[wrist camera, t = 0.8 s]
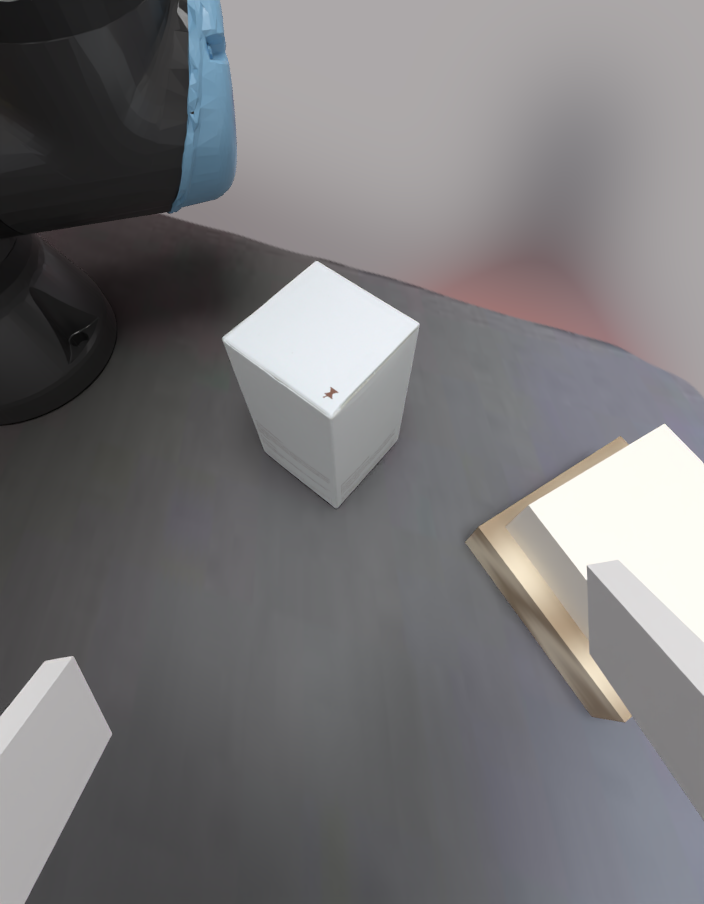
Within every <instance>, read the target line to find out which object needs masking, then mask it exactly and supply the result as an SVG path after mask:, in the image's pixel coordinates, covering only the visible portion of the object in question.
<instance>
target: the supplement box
mask: <svg viewBox="0 0 704 904" xmlns="http://www.w3.org/2000/svg"><path fill="white" fill-rule="evenodd" d="M418 331H419V323H418V322H417V321H415V320H413V319H411V318H410V317H408V316H406V315H405V314H403V313H401V312H400V311H398V310H397V309H395V308H393V307H391V306H390V305H388V304H386V303H385V302H383V301H382V300H380V299H378V298H377V297H375V296H373V295H372V294H370V293H369V292H367V291H365V290H364V289H362V288H360V287H359V286H357V285H355V284H354V283H352V282H350V281H349V280H347V279H346V278H344V277H342V276H341V275H339V274H337V273H336V272H334V271H333V270H331V269H329V268H328V267H326V266H324V265H323V264H321V263H320V262H318V261H315V262H314V263H313V264H312V265H310V266H309V267H308V268H307V269H305V270H304V271H303V272H302V273H301V274H299V275H298V276H297V277H296V278H295V279H293V280H292V281H291V282H290V283H289V284H287V285H286V286H285V287H284V288H283V289H281V290H280V291H279V292H278V293H277V294H275V295H274V296H273V297H272V298H271V299H269V300H268V301H267V302H266V303H265V304H264V305H263V306H261V307H260V308H259V309H258V310H256V311H255V312H254V313H253V314H251V315H250V316H249V317H247V318H246V319H245V320H244V321H242V322H241V323H240V324H239V325H237V326H236V327H235V328H234V329H232V330H231V331H230V332H229V333H227V334H226V335H225V336H223V338H222V340H223V343H224V346H225V348H226V351H227V354H228V357H229V359H230V362H231V365H232V367H233V370H234V373H235V375H236V378H237V380H238V383H239V386H240V388H241V391H242V393H243V396H244V398H245V401H246V404H247V406H248V409H249V411H250V414H251V417H252V419H253V422H254V424H255V427H256V430H257V432H258V435H259V438H260V441H261V443H262V446H263V449H264V451H265V452H266V453H267V454H268V455H269V456H271V457H272V458H273V459H274V460H275V461H277V462H278V463H279V464H280V465H282V466H283V467H284V468H285V469H287V470H288V471H289V472H290V473H292V474H293V475H294V476H295V477H297V478H298V479H299V480H300V481H302V482H303V483H304V484H305V485H307V486H308V487H309V488H311V489H312V490H313V491H314V492H316V493H317V494H318V495H319V496H321V497H322V498H323V499H324V500H326V501H327V502H328V503H330V504H331V505H332V506H333V507H334V508H338V507H339V506H340V505H341V504H342V503H343V501H344V500H345V499H346V498H347V497H348V496H349V495H350V494H351V492H352V491H353V490H354V489H355V488H356V487H357V486H358V485H359V483H360V482H361V481H362V480H363V479H364V478H365V477H366V475H367V474H368V473H369V472H370V471H371V470H372V469H373V468H374V466H375V465H376V464H377V463H378V462H379V461H380V460H381V459H382V457H383V456H384V455H385V454H386V453H387V452H388V451H389V450H390V448H391V447H392V446H393V445H394V444H395V443H396V442H397V440H398V438H399V432H400V426H401V421H402V416H403V410H404V405H405V400H406V394H407V389H408V385H409V380H410V374H411V369H412V363H413V357H414V352H415V347H416V342H417V336H418Z"/></svg>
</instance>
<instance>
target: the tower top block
mask: <svg viewBox="0 0 704 904" xmlns="http://www.w3.org/2000/svg"><path fill="white" fill-rule="evenodd" d="M506 529H507V530H508V531H509V533H510V534H511V536H512V537H513V538H514V540H515V541H516V542H517V544H518V545H519V546H520V548H521V549H522V551H523V552H524V553H525V555H526V556H527V557H528V559H529V560H530V561H531V563H532V564H533V566H534V567H535V568H536V570H537V571H538V572H539V574H540V575H541V576H542V578H543V579H544V580H545V582H546V583H547V585H548V586H549V587H550V589H551V590H552V591H553V593H554V594H555V595H556V597H557V598H558V600H559V601H560V602H561V604H562V605H563V606H564V608H565V609H566V610H567V612H568V613H569V615H570V616H571V617H572V619H573V620H574V621H575V623H576V624H577V625H578V627H579V628H580V630H581V631H582V632H583V634H584V635H585V636H586V638H587V639H588V640H589V625H588V591H587V565H590V564H596V563H602V562H607V561H613V560H619V561H620V562H621V563H622V564H623V565H624V566H625V567H626V568H628V569H629V570H630V571H631V572H632V573H633V574H634V575H635V576H636V577H637V578H638V579H639V580H640V581H641V582H642V583H643V584H644V585H645V586H646V587H647V588H648V589H649V590H650V591H651V592H652V593H653V594H654V595H655V596H656V597H657V598H658V599H659V600H661V601H662V602H663V603H664V604H665V605H666V606H667V607H668V608H669V609H670V610H671V611H672V612H673V613H674V614H675V615H676V616H677V617H678V618H679V619H680V620H681V621H682V622H683V623H684V624H685V625H686V626H687V627H688V628H689V629H690V630H691V631H692V632H694V633H695V634H696V635H697V636H698V637H699V638H700V639H701V640H702V641H703V642H704V463H703V462H702V461H701V460H700V459H699V458H698V457H697V456H696V455H695V454H694V453H693V452H692V451H691V450H690V449H689V448H688V447H687V446H686V445H685V444H684V443H683V442H682V441H681V440H680V439H679V438H678V437H677V436H676V435H675V434H674V433H673V432H672V431H671V430H670V429H669V428H668V427H667V426H666V425H665V424H663V425H662V426H660V427H658V428H657V429H655V430H653V431H652V432H650V433H648V434H647V435H645V436H643V437H642V438H640V439H638V440H637V441H635V442H633V443H632V444H630V445H628V446H626V447H625V448H623V449H621V450H620V451H618V452H616V453H615V454H613V455H611V456H610V457H608V458H606V459H605V460H603V461H601V462H600V463H598V464H596V465H595V466H593V467H591V468H590V469H588V470H586V471H585V472H583V473H581V474H580V475H578V476H576V477H575V478H573V479H571V480H570V481H568V482H566V483H565V484H563V485H561V486H560V487H558V488H556V489H555V490H553V491H551V492H550V493H548V494H546V495H545V496H543V497H541V498H540V499H538V500H536V501H535V502H533V503H531V504H530V505H528V506H527V507H526V508H525V509H524V510H523V511H522V512H521V513H520V514H518V515H517V516H516V517H515V518H514V519H513V520H512V521H511V522H510V523H509V524H508V525H507V526H506Z"/></svg>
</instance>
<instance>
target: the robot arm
mask: <svg viewBox="0 0 704 904" xmlns="http://www.w3.org/2000/svg"><path fill="white" fill-rule="evenodd" d="M225 49H226V43H225V37H224V27H223V16H222V11H221V4H220V0H0V425H2V424H10V423H16V422H20V421H25V420H28V419H31V418H34V417H37V416H40V415H43V414H45V413H47V412H50V411H52V410H54V409H56V408H58V407H59V406H61V405H63V404H65V403H66V402H68V401H69V400H71V399H72V398H74V397H75V396H77V395H78V394H79V393H80V392H82V391H83V390H84V389H85V388H86V387H87V386H88V385H89V384H90V383H91V382H92V381H93V380H94V379H95V378H96V377H97V376H98V374H99V373H100V372H101V371H102V369H103V368H104V366H105V365H106V363H107V361H108V360H109V358H110V355H111V353H112V351H113V348H114V345H115V341H116V334H117V325H116V318H115V315H114V312H113V309H112V307H111V306H110V304H109V302H108V301H107V299H106V298H105V296H104V295H103V293H102V292H101V290H100V288H99V287H98V286H97V284H96V283H95V282H94V281H93V280H92V279H91V278H90V277H89V276H88V275H87V274H86V273H85V272H84V271H82V270H81V269H80V268H79V267H77V266H76V265H75V264H73V263H72V262H71V261H70V260H68V259H67V258H66V257H65V256H63V255H62V254H61V253H59V252H58V251H57V250H56V249H54V248H53V247H52V246H50V245H49V244H48V243H47V242H45V241H44V240H43V239H42V238H40V237H39V236H38V235H36V234H35V233H39V232H45V231H51V230H57V229H64V228H70V227H76V226H82V225H89V224H95V223H101V222H107V221H114V220H120V219H126V218H132V217H139V216H145V215H151V214H158V213H164V212H167V213H169V214H170V213H173V212H177V211H178V210H180V209H181V207H185V206H189V205H193V204H198V203H202V202H206V201H210V200H215V199H217V198H219V197H220V196H222V195H223V194H224V193H225V192H226V191H227V190H228V189H229V188H230V187H231V185H232V182H233V180H234V177H235V172H236V162H237V142H236V124H235V111H234V100H233V90H232V82H231V74H230V67H229V62H228V59H227V56H226V53H225ZM587 591H588V625H589V654H590V655H591V657H592V658H593V660H594V661H595V662H596V664H597V665H598V667H599V668H600V670H601V671H602V673H603V674H604V676H605V677H606V679H607V680H608V681H609V683H610V684H611V686H612V687H613V689H614V690H615V692H616V693H617V695H618V696H619V698H620V699H621V700H622V702H623V703H624V705H625V706H626V708H627V709H628V711H629V712H630V714H631V715H632V717H633V718H634V719H635V721H636V722H637V724H638V725H639V727H640V728H641V730H642V731H643V733H644V734H645V736H646V737H647V738H648V740H649V741H650V743H651V744H652V746H653V747H654V749H655V750H656V752H657V753H658V755H659V756H660V757H661V759H662V760H663V762H664V763H665V765H666V766H667V768H668V769H669V771H670V772H671V774H672V775H673V776H674V778H675V779H676V781H677V782H678V784H679V785H680V787H681V788H682V790H683V791H684V793H685V794H686V795H687V797H688V798H689V800H690V801H691V803H692V804H693V806H694V807H695V809H696V810H697V812H698V813H699V814H700V816H701V817H702V819H703V820H704V642H703V641H702V640H701V639H700V638H699V637H698V636H697V635H696V634H695V633H694V632H692V631H691V630H690V629H689V628H688V627H687V626H686V625H685V624H684V623H683V622H682V621H681V620H680V619H679V618H678V617H677V616H676V615H675V614H674V613H673V612H672V611H671V610H670V609H669V608H668V607H667V606H666V605H665V604H664V603H663V602H662V601H661V600H659V599H658V598H657V597H656V596H655V595H654V594H653V593H652V592H651V591H650V590H649V589H648V588H647V587H646V586H645V585H644V584H643V583H642V582H641V581H640V580H639V579H638V578H637V577H636V576H635V575H634V574H633V573H632V572H631V571H630V570H629V569H628V568H626V567H625V566H624V565H623V564H622V563H621V562H620V561H619V560H613V561H607V562H602V563H596V564H590V565H587ZM111 735H112V732H111V730H110V728H109V726H108V724H107V722H106V720H105V718H104V716H103V714H102V712H101V710H100V708H99V706H98V704H97V702H96V700H95V698H94V696H93V694H92V692H91V690H90V688H89V686H88V684H87V682H86V680H85V678H84V676H83V674H82V672H81V670H80V668H79V666H78V664H77V662H76V660H75V658H74V656H70V657H65V658H59V659H53V660H48V661H45V662H44V663H43V664H42V665H41V667H40V668H39V669H38V670H37V671H36V673H35V674H34V675H33V676H32V678H31V679H30V680H29V681H28V683H27V684H26V685H25V686H24V688H23V689H22V690H21V691H20V693H19V694H18V695H17V696H16V698H15V699H14V700H13V701H12V703H11V704H10V705H9V706H8V708H7V709H6V710H5V711H4V713H3V714H2V715H1V716H0V904H25V902H26V900H27V898H28V896H29V894H30V892H31V890H32V888H33V886H34V884H35V882H36V880H37V878H38V877H39V875H40V873H41V871H42V869H43V867H44V865H45V863H46V861H47V859H48V857H49V855H50V853H51V851H52V849H53V848H54V846H55V844H56V842H57V840H58V838H59V836H60V834H61V832H62V830H63V828H64V826H65V824H66V822H67V820H68V819H69V817H70V815H71V813H72V811H73V809H74V807H75V805H76V803H77V801H78V799H79V797H80V795H81V793H82V791H83V790H84V788H85V786H86V784H87V782H88V780H89V778H90V776H91V774H92V772H93V770H94V768H95V766H96V764H97V762H98V761H99V759H100V757H101V755H102V753H103V751H104V749H105V747H106V745H107V743H108V741H109V739H110V737H111Z"/></svg>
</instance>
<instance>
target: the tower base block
mask: <svg viewBox="0 0 704 904" xmlns="http://www.w3.org/2000/svg"><path fill="white" fill-rule="evenodd" d="M628 445H629V444H628V443H627V442H626V441H625V440H624V439H623V438H622V437H621V436H620V437H618V438H617V439H615V440H614V441H612V442H611V443H609V444H607V445H606V446H604V447H603V448H601V449H600V450H598V451H596V452H595V453H593V454H592V455H590V456H589V457H587V458H586V459H584V460H582V461H581V462H579V463H578V464H576V465H575V466H573V467H571V468H570V469H568V470H567V471H565V472H564V473H562V474H560V475H559V476H557V477H556V478H554V479H553V480H551V481H549V482H548V483H546V484H545V485H543V486H542V487H540V488H539V489H537V490H535V491H534V492H532V493H531V494H529V495H528V496H526V497H524V498H523V499H521V500H520V501H518V502H517V503H515V504H513V505H512V506H510V507H509V508H507V509H506V510H504V511H502V512H501V513H499V514H498V515H496V516H495V517H493V518H492V519H490V520H488V521H487V522H485V523H484V524H482V525H481V526H479V527H478V528H477V529H476V530H475V531H474V532H473V534H472V535H471V536H470V537H469V538H468V539H467V540H466V542H465V543H466V544H467V546H468V547H469V548H470V550H471V551H472V552H473V554H474V555H475V557H476V558H477V559H478V561H479V562H480V563H481V565H482V566H483V568H484V569H485V570H486V572H487V573H488V574H489V576H490V577H491V579H492V580H493V581H494V583H495V584H496V586H497V587H498V588H499V590H500V591H501V592H502V594H503V595H504V597H505V598H506V599H507V601H508V602H509V603H510V605H511V606H512V608H513V609H514V610H515V612H516V613H517V614H518V616H519V617H520V619H521V620H522V621H523V623H524V624H525V625H526V627H527V628H528V630H529V631H530V632H531V634H532V635H533V636H534V638H535V639H536V641H537V642H538V643H539V645H540V646H541V647H542V649H543V650H544V652H545V653H546V654H547V656H548V657H549V658H550V660H551V661H552V663H553V664H554V665H555V667H556V668H557V669H558V671H559V672H560V674H561V675H562V676H563V678H564V679H565V680H566V682H567V683H568V685H569V686H570V687H571V689H572V690H573V692H574V693H575V694H576V696H577V697H578V698H579V700H580V701H581V703H582V704H583V705H584V707H585V708H586V709H587V711H588V712H589V714H590V715H591V716H592V717H596V718H602V719H608V720H614V721H620V722H626V721H627V720H628V719H630V718H631V717H632V715H631V714H630V712H629V711H628V709H627V708H626V706H625V705H624V703H623V702H622V700H621V699H620V698H619V696H618V695H617V693H616V692H615V690H614V689H613V687H612V686H611V684H610V683H609V681H608V680H607V679H606V677H605V676H604V674H603V673H602V671H601V670H600V668H599V667H598V665H597V664H596V662H595V661H594V660H593V658H592V657H591V655H590V654H589V640H588V639H587V638H586V636H585V635H584V634H583V632H582V631H581V630H580V628H579V627H578V625H577V624H576V623H575V621H574V620H573V619H572V617H571V616H570V615H569V613H568V612H567V610H566V609H565V608H564V606H563V605H562V604H561V602H560V601H559V600H558V598H557V597H556V595H555V594H554V593H553V591H552V590H551V589H550V587H549V586H548V585H547V583H546V582H545V580H544V579H543V578H542V576H541V575H540V574H539V572H538V571H537V570H536V568H535V567H534V566H533V564H532V563H531V561H530V560H529V559H528V557H527V556H526V555H525V553H524V552H523V551H522V549H521V548H520V546H519V545H518V544H517V542H516V541H515V540H514V538H513V537H512V536H511V534H510V533H509V531H508V530H507V529H506V526H507V525H508V524H509V523H510V522H511V521H512V520H513V519H514V518H515V517H516V516H517V515H518V514H520V513H521V512H522V511H523V510H524V509H525V508H526V507H527V506H528V505H530V504H531V503H533V502H535V501H536V500H538V499H540V498H541V497H543V496H545V495H546V494H548V493H550V492H551V491H553V490H555V489H556V488H558V487H560V486H561V485H563V484H565V483H566V482H568V481H570V480H571V479H573V478H575V477H576V476H578V475H580V474H581V473H583V472H585V471H586V470H588V469H590V468H591V467H593V466H595V465H596V464H598V463H600V462H601V461H603V460H605V459H606V458H608V457H610V456H611V455H613V454H615V453H616V452H618V451H620V450H621V449H623V448H625V447H626V446H628Z"/></svg>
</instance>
